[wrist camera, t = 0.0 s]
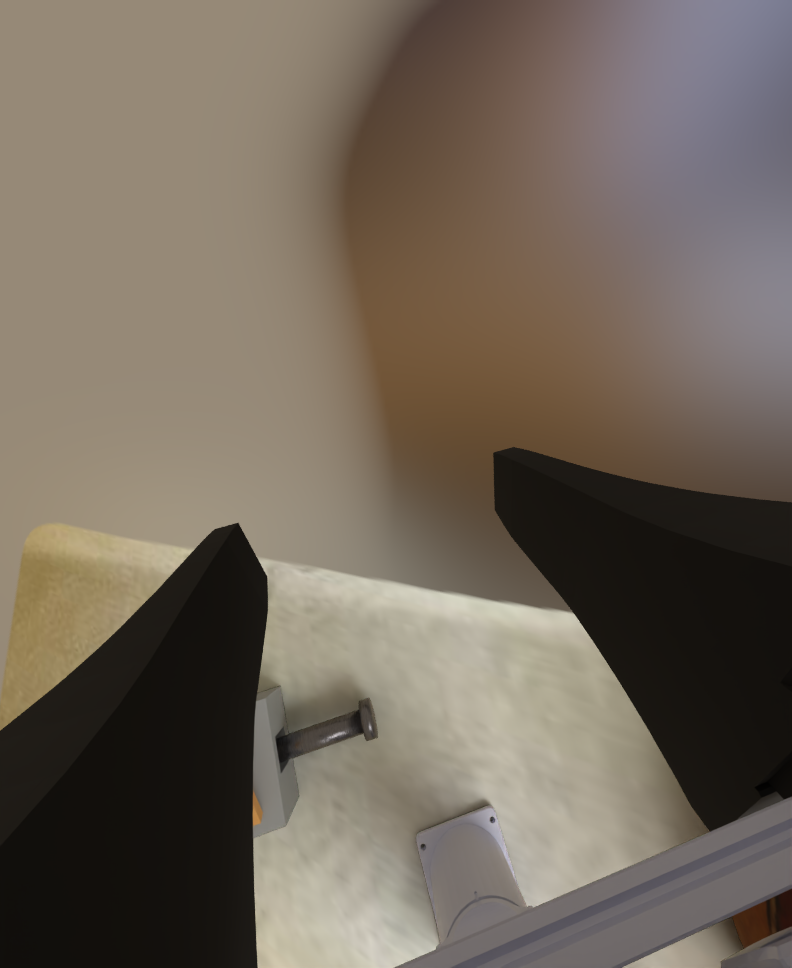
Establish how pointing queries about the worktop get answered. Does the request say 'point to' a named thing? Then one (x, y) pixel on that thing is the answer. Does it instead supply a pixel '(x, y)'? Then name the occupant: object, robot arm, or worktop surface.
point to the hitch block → (272, 764)
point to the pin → (329, 732)
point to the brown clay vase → (764, 919)
